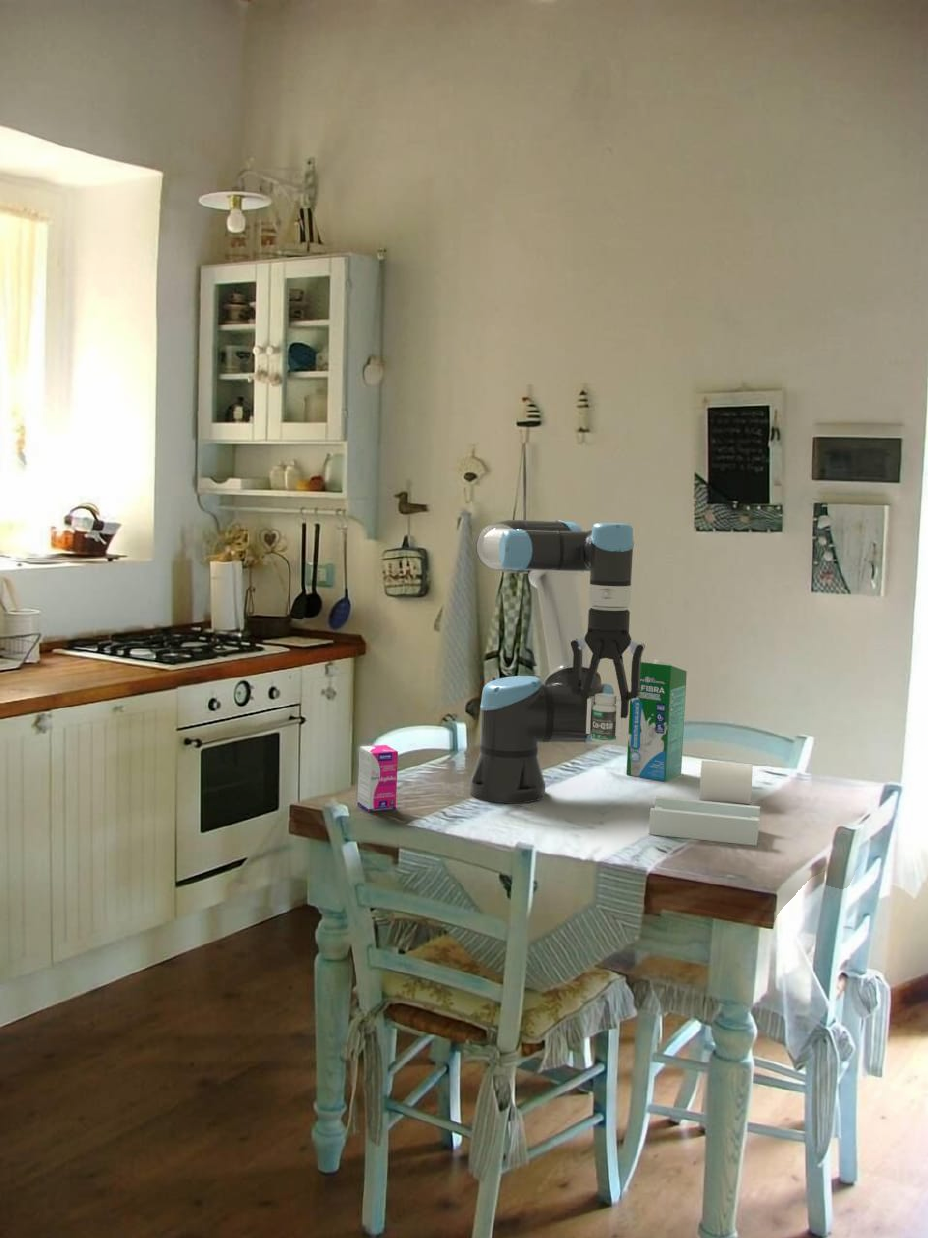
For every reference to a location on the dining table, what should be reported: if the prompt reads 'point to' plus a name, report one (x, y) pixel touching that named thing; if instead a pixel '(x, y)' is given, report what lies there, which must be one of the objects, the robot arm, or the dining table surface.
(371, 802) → the supplement box
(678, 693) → the milk carton
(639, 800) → the dining table surface
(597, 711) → the pill bottle
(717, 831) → the tray
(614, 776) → the dining table surface
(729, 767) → the mug
